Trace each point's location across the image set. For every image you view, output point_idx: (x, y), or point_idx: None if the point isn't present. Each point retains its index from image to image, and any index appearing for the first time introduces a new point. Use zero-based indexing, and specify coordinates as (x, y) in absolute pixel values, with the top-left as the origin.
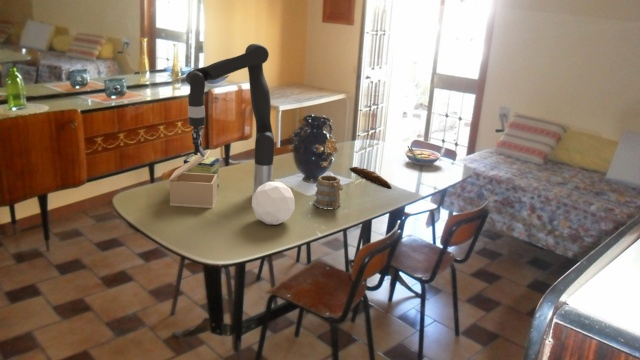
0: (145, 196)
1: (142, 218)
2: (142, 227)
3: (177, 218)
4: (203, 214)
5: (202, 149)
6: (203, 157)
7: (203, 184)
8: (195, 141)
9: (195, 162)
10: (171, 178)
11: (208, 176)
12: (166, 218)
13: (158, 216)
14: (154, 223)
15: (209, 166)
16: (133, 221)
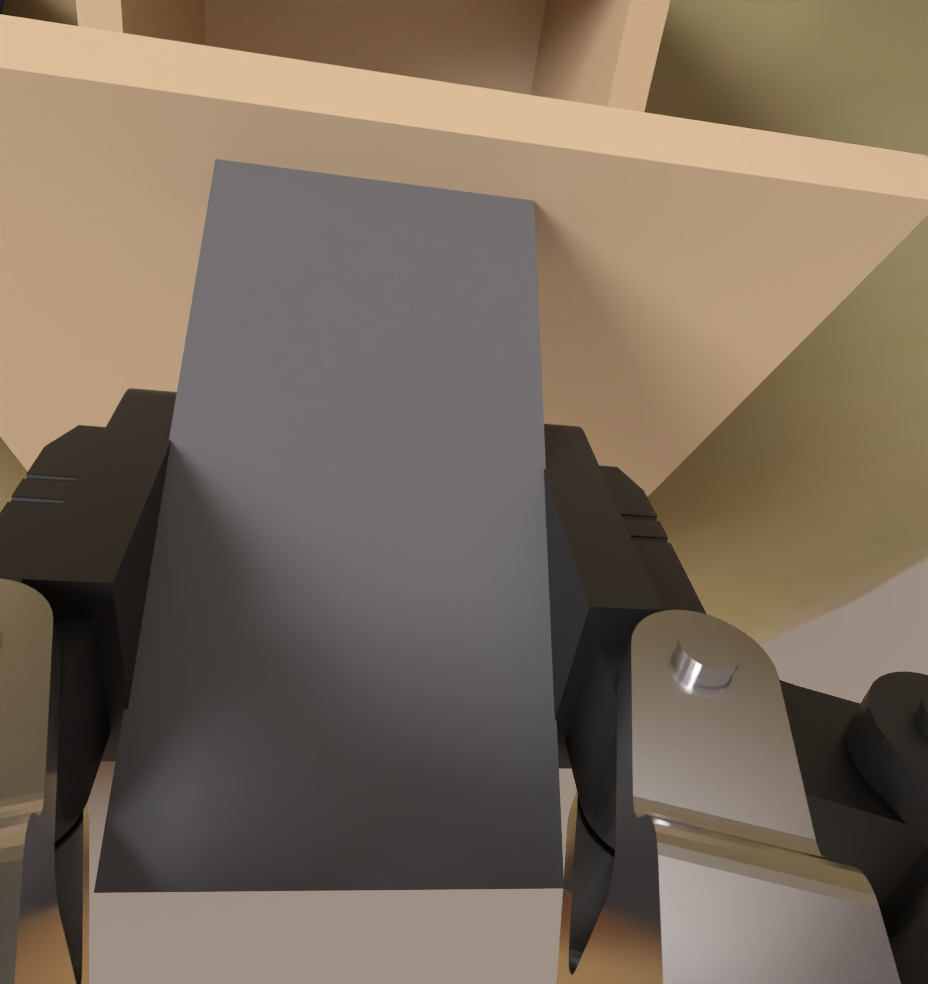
0: None
1: (757, 579)
2: (923, 552)
3: (816, 328)
4: (768, 61)
5: (239, 341)
6: (702, 222)
7: (639, 105)
8: (372, 851)
9: (611, 391)
10: None
11: (134, 18)
12: (794, 418)
13: (739, 483)
14: (874, 489)
15: None
16: (799, 620)
